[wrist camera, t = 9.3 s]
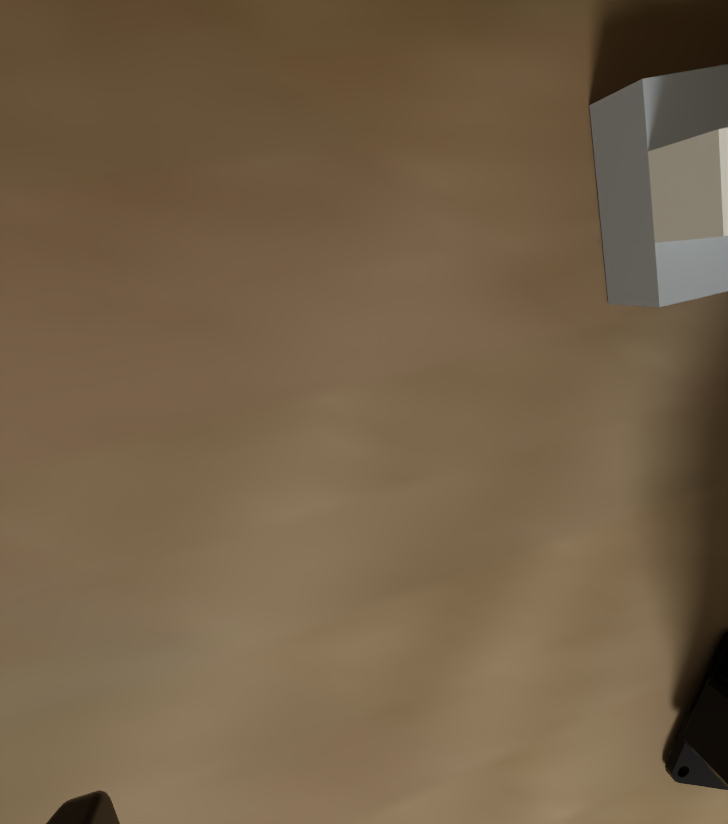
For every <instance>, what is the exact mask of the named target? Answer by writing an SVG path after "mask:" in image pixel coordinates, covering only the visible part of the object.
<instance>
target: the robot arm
mask: <svg viewBox="0 0 728 824" xmlns="http://www.w3.org/2000/svg"><path fill="white" fill-rule="evenodd" d="M665 768H666V771H667V772H668V774H669V775H670V776H671V777H672V778H673V779H674V781H676V782H678V783H685V784H691V785H698V786H705V787H711V788H718V789H725V790H728V631H727V632H726V633H725V634H724V635H723V636H722V638H721V640H720V642H719V644H718V647H717V649H716V651H715V653H714V656H713V658H712V660H711V662H710V665H709V667H708V669H707V672H706V674H705V676H704V678H703V681H702V683H701V685H700V687H699V690H698V692H697V694H696V696H695V699H694V701H693V703H692V705H691V708H690V710H689V712H688V714H687V717H686V719H685V721H684V723H683V726H682V728H681V730H680V732H679V735H678V737H677V739H676V741H675V744H674V746H673V748H672V751H671V753H670V755H669V757H668V760H667V762H666V765H665ZM46 824H120V823H119V820H118V818H117V815H116V812H115V809H114V807H113V804H112V801H111V799H110V797H109V796H108V794H107V793H106V792H104V791H96V792H92V793H89V794H86V795H83V796H80V797H76V798H73V799H71V800H68V801H66V802H65V803H64V804H63V805H62V806H61V807H60V808H59V809H58V810H57V811H56V812H55V814H54V815H53V816H52V817H51V818H50V820H49V821H48V822H47V823H46Z"/></svg>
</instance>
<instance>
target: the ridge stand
mask: <svg viewBox="0 0 728 824" xmlns="http://www.w3.org/2000/svg"><path fill="white" fill-rule="evenodd" d="M589 107H590V118H591V128H592V138H593V149H594V159H595V170H596V180H597V190H598V201H599V211H600V222H601V232H602V243H603V253H604V263H605V274H606V284H607V295H608V304H615V305H632V306H648V307H663V306H667V305H671V304H675V303H680V302H684V301H688V300H692V299H697V298H701V297H705V296H710V295H714V294H718V293H722V292H727V291H728V64H726V65H720V66H714V67H708V68H702V69H696V70H691V71H685V72H679V73H673V74H667V75H661V76H656V77H650V78H644V79H641V80H639V81H637V82H635V83H633V84H631V85H629V86H627V87H625V88H623V89H621V90H619V91H617V92H615V93H613V94H611V95H609V96H607V97H605V98H603V99H601V100H599V101H597V102H595V103H593V104H591V105H589Z"/></svg>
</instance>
